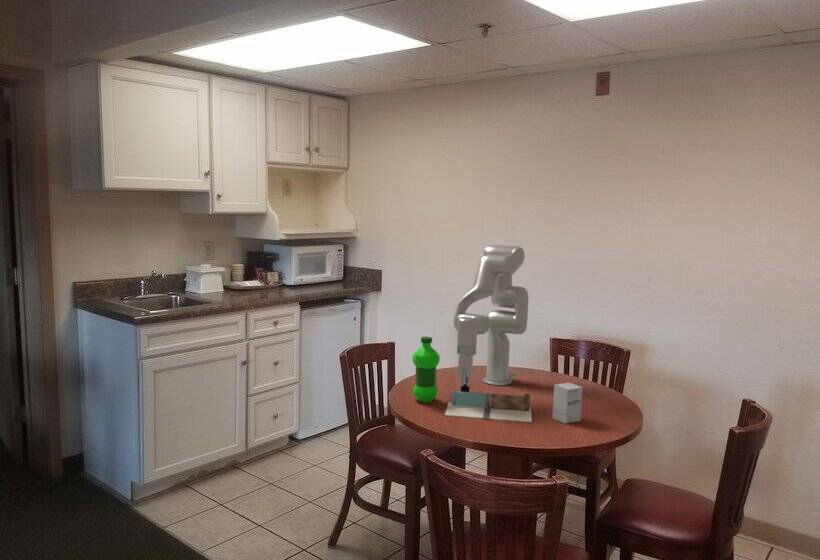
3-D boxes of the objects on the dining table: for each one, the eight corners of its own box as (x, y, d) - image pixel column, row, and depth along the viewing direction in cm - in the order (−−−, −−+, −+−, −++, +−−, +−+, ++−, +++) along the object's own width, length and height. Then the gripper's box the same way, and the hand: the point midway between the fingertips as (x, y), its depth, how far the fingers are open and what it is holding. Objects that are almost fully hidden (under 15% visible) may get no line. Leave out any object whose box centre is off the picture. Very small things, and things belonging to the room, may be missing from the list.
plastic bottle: (406, 399, 241) (407, 336, 238) (427, 394, 247) (428, 333, 244) (422, 406, 233) (424, 341, 230) (443, 401, 239) (445, 338, 237)
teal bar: (489, 405, 233) (490, 393, 232) (489, 407, 231) (490, 394, 230) (451, 402, 235) (451, 390, 235) (451, 404, 233) (451, 392, 233)
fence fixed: (529, 409, 230) (530, 394, 230) (529, 411, 228) (530, 395, 228) (490, 406, 233) (491, 391, 232) (490, 408, 231) (491, 392, 230)
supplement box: (565, 424, 216) (567, 389, 215) (551, 417, 223) (553, 384, 222) (581, 421, 220) (583, 387, 218) (567, 415, 226) (569, 381, 225)
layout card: (530, 408, 232) (530, 407, 232) (531, 423, 217) (531, 421, 217) (449, 403, 237) (449, 401, 237) (444, 416, 222) (444, 415, 222)
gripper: (458, 344, 243) (456, 390, 245) (454, 353, 228) (453, 401, 230) (477, 346, 242) (475, 391, 244) (475, 354, 227) (473, 402, 229)
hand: (464, 396), depth 237 cm, fingers closed
